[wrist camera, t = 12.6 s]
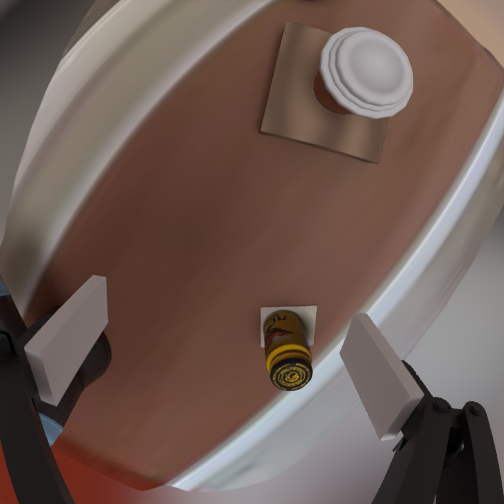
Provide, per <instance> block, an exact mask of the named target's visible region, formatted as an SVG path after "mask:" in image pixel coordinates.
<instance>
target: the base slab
mask: <svg viewBox="0 0 504 504" xmlns="http://www.w3.org/2000/svg"><path fill="white" fill-rule="evenodd" d="M332 35H334V34H332V33H329V32H326V31H323V30H319V29H316V28H312V27H309V26H305V25H301V24H297V23H293V22H289V21H286V24H285V28H284V31H283V34H282V38H281V43H280V47H279V51H278V55H277V59H276V63H275V67H274V72H273V76H272V80H271V84H270V88H269V93H268V97H267V101H266V106H265V110H264V114H263V119H262V123H261V127H260V132H259V133H261V134H266V135H270V136H274V137H279V138H283V139H287V140H291V141H295V142H299V143H303V144H307V145H310V146H314V147H318V148H321V149H325V150H329V151H332V152H335V153H339V154H342V155H345V156H349V157H352V158H355V159H358V160H361V161H364V162H368V163H375V164H379V162H380V158H381V153H382V149H383V144H384V140H385V135H386V130H387V126H388V121H389V117H384V118H379V119H370V118H365V117H361V116H356V115H354V114H347V115H336V114H331V113H329V112H327V111H326V110H324V109H322V108H321V107H320V105H319V104H318V103H317V102H316V100H315V98H314V95H313V92H312V81H313V79H314V77H315V75H316V74H317V72H318V70H319V65H320V52H321V51H322V49H323V47H324V46H325V44H326V42H327V41H328V39H329V38H330V36H332Z"/></svg>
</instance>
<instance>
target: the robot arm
mask: <svg viewBox="0 0 504 504" xmlns="http://www.w3.org/2000/svg"><path fill="white" fill-rule="evenodd" d="M107 324H108V313H107V289H106V277H102V276H97V275H93V276H92V277H91V278H90V279H89V280H88V281H86V282H85V283H84V284H83V285H82V286H81V287H80V288H79V289H78V290H77V291H76V292H75V293H74V294H73V295H72V296H71V297H70V298H69V299H68V300H67V301H66V302H65V303H64V305H63V306H62V307H55V308H53V309H51V310H50V311H49V312H48V313H47V314H46V315H45V316H43V317H41V318H39V319H37V320H36V321H35V322H34V323H33V325H32V326H31V327H30V328H29V329H27V327H26V325H25V323H24V321H23V319H22V318H21V316H20V314H19V312H18V310H17V308H16V306H15V303H14V301H13V299H12V297H11V293H10V292H9V291H8V289H7V287H6V285H5V284H4V282H3V279H2V277H1V275H0V440H1V445H2V448H3V453H4V457H5V461H6V465H7V468H8V472H9V475H10V479H11V481H12V485H13V488H14V491H15V494H16V497H17V500H18V502H19V504H75V502H74V500H73V498H72V496H71V494H70V492H69V490H68V488H67V486H66V484H65V481H64V479H63V477H62V475H61V472H60V470H59V468H58V465H57V463H56V461H55V458H54V456H53V453H52V450H51V448H50V446H51V445H52V444H53V443H54V442H55V440H56V439H57V437H58V436H59V434H60V433H61V432H62V431H63V427H64V425H65V423H66V421H67V419H68V417H69V415H70V413H71V412H72V410H73V408H74V406H75V404H76V402H77V401H78V399H79V397H80V395H81V393H82V391H83V390H84V388H86V387H87V386H88V385H90V384H91V383H93V382H94V381H95V380H96V379H98V378H100V377H101V376H102V375H103V374H104V373H105V371H106V369H107V368H108V366H109V364H110V361H111V350H110V346H109V343H108V341H107V339H106V337H105V335H104V334H103V332H102V331H103V330H104V328H105V327H106V325H107ZM340 356H341V358H342V360H343V362H344V364H345V366H346V368H347V370H348V372H349V374H350V377H351V379H352V381H353V383H354V385H355V387H356V389H357V392H358V394H359V396H360V398H361V400H362V402H363V404H364V406H365V409H366V411H367V413H368V415H369V418H370V420H371V422H372V424H373V426H374V429H375V431H376V433H377V435H378V438H379V440H380V441H383V440H389V439H394V438H395V437H396V436H397V434H398V433H399V431H400V430H401V431H402V433H403V435H404V436H403V437H402V439H401V440H400V441H399V442H398V444H397V445H396V446H395V448H394V449H393V450H392V451H393V452H394V451H395V450H396V452H395V454H394V457H393V459H392V462H391V464H390V467H389V469H388V471H387V473H386V475H385V478H384V480H383V482H382V484H381V486H380V488H379V490H378V492H377V494H376V496H375V498H374V500H373V502H372V504H433V502H434V498H435V495H436V504H504V495H503V488H502V481H501V475H500V469H499V464H498V459H497V454H496V449H495V445H494V441H493V437H492V433H491V429H490V425H489V421H488V418H487V414H486V411H485V409H484V408H483V407H482V406H481V405H480V404H479V403H477V402H474V401H469V402H467V403H466V404H465V405H464V407H463V408H462V409H454V408H452V407H451V406H450V404H449V403H448V402H447V401H446V400H444V399H442V398H439V397H433V396H432V395H431V394H430V392H429V391H428V389H427V388H426V386H425V385H424V383H423V382H422V381H421V380H420V378H419V376H418V375H416V372H415V371H414V370H413V368H412V367H411V366H410V365H409V364H408V363H406V362H405V361H404V360H400V359H399V357H398V356H397V354H396V353H395V352H394V350H393V349H392V347H391V346H390V345H389V343H388V342H387V340H386V339H385V338H384V336H383V335H382V334H381V332H380V331H379V330H378V328H377V327H376V325H375V324H374V323H373V321H372V320H371V319H370V317H369V316H368V315H367V314H363V313H355V314H354V316H353V319H352V322H351V325H350V328H349V330H348V333H347V336H346V338H345V341H344V343H343V346H342V349H341V351H340ZM463 445H464V447H463V450H462V446H463Z"/></svg>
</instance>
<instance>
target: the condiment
mask: <svg viewBox="0 0 504 504" xmlns="http://www.w3.org/2000/svg"><path fill="white" fill-rule="evenodd" d="M316 311H317V305H316V306H298V307H296V306H295V307H264V308H261V347H265V355H266V366H267V369H268V371H269V372H270V379H271V381H272V383H273V384H274V385H275V386H276V387H277V388H278V389H281V390H285V391H295V390H299V389H301V388H303V387H304V386H305V385H306V384H307V383H308V382H309V381H310V380H311V378H312V374H313V370H312V365H311V363H312V356H311V352H310V348H309V345H313V343H314V332H315V321H316ZM300 316H301V317H300ZM302 317H303V318H304V319H303V318H302Z"/></svg>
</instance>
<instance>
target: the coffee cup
mask: <svg viewBox="0 0 504 504" xmlns="http://www.w3.org/2000/svg"><path fill="white" fill-rule="evenodd" d="M312 92H313V95H314V98H315V100H316V102H317V103H318V104H319V105H320V107H321V108H322V109H324V110H326V111H327V112H329V113H331V114H336V115H347V114H354V115H356V116H361V117H365V118H370V119H379V118H384V117H390V116H393V115H395V114H396V113H397V112H399V111H400V110H401V109H403V108H404V107H405V106H406V104H407V102H408V100H409V98H410V96H411V94H412V92H413V73H412V68H411V65H410V62H409V60H408V57H407V55H406V54H405V53H404V51H403V50H402V49H401V47H400V46H399V45H398V44H397V43H396V42H394V41H393V40H392V39H390V38H389V37H387V36H386V35H384V34H382V33H381V32H378V31H375V30H371V29H368V28H365V27H354V28H344V29H342V30H341V31H339V32H337V33H336V34H334V35H332V36H330V38H329V39H328V41H327V42H326V44H325V46H324V47H323V49H322V51H321V52H320V65H319V70H318V72H317V74H316V75H315V77H314V79H313V81H312Z"/></svg>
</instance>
